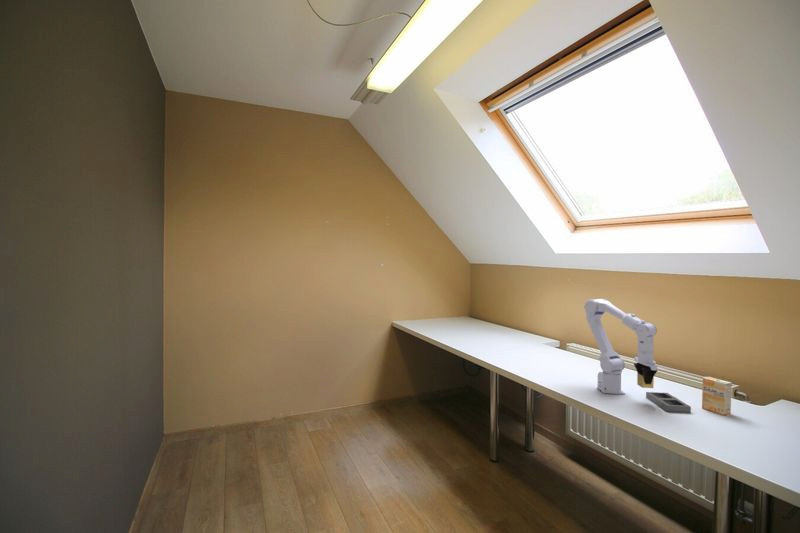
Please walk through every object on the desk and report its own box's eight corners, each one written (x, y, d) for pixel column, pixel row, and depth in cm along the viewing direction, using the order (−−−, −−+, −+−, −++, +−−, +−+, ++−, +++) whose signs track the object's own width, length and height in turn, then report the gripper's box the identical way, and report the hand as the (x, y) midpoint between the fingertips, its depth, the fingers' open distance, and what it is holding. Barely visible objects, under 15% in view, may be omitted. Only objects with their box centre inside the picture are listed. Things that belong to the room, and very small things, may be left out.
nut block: (642, 387, 163) (642, 375, 163) (637, 384, 167) (637, 373, 167) (653, 388, 162) (653, 376, 162) (647, 384, 167) (648, 373, 167)
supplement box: (701, 408, 158) (701, 377, 158) (708, 406, 160) (708, 376, 160) (724, 416, 150) (725, 383, 150) (731, 414, 152) (732, 381, 152)
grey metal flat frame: (666, 411, 154) (667, 405, 154) (646, 397, 170) (646, 392, 170) (690, 412, 153) (690, 406, 153) (667, 398, 169) (667, 392, 169)
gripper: (665, 355, 157) (664, 388, 157) (646, 347, 171) (645, 377, 171) (647, 355, 157) (646, 387, 158) (629, 347, 172) (629, 376, 172)
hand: (645, 382), depth 165 cm, fingers closed on nut block, 4 cm apart
